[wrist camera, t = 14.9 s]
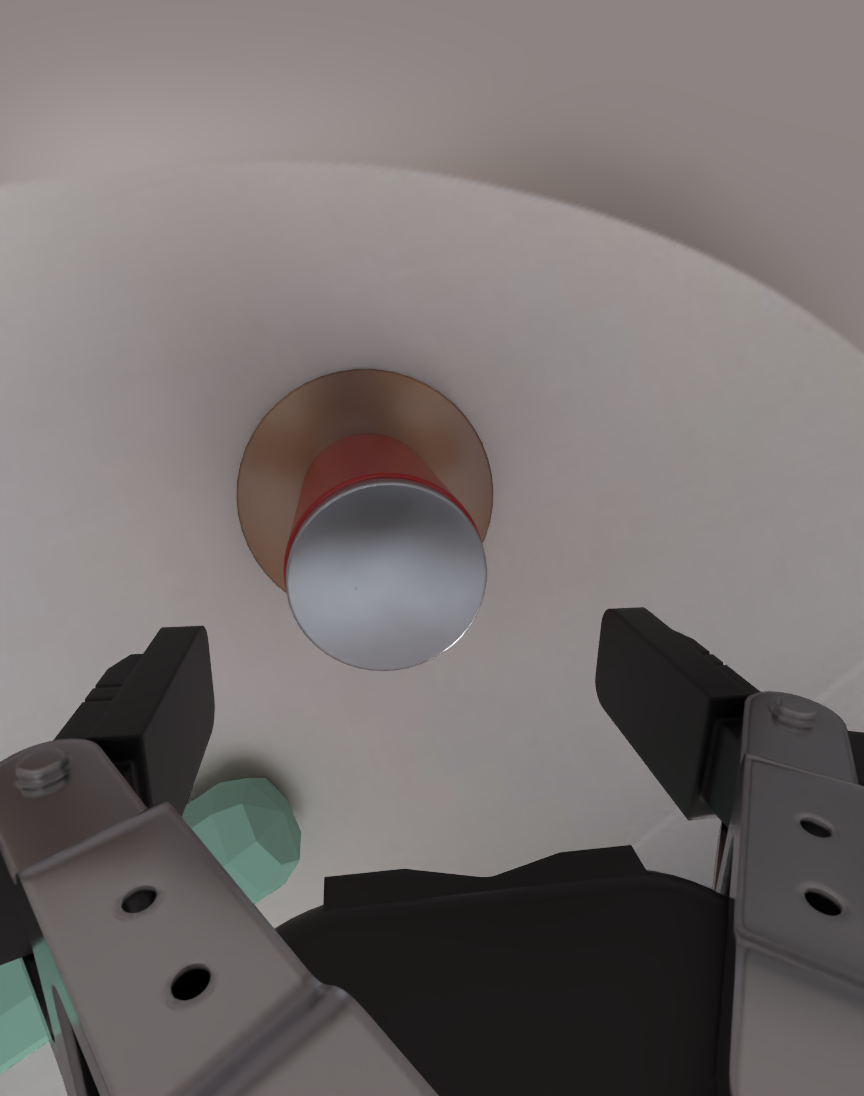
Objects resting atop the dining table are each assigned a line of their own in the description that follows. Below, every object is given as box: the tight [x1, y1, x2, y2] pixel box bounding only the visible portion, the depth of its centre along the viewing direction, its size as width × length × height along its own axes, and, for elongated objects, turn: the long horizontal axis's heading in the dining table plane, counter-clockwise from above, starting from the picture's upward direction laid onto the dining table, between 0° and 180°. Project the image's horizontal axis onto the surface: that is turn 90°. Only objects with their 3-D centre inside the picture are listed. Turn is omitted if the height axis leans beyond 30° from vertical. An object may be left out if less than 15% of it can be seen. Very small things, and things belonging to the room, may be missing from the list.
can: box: [283, 433, 487, 671], centre depth 19 cm, size 5×5×9 cm
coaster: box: [237, 369, 493, 592], centre depth 23 cm, size 10×10×1 cm
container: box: [0, 778, 301, 1074], centre depth 25 cm, size 6×6×25 cm
